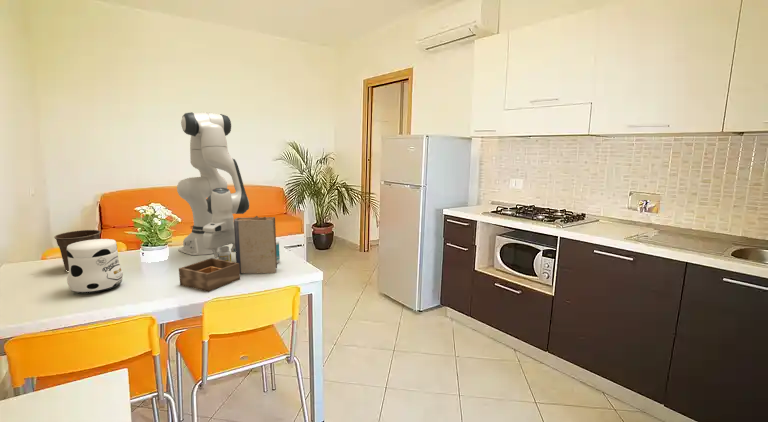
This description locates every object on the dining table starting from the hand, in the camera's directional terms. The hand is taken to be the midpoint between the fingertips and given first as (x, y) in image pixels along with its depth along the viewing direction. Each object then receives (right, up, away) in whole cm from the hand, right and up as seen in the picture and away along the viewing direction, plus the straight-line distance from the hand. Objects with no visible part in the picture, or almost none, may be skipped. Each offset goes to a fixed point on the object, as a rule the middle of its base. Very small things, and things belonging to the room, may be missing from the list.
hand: (225, 254), depth 179 cm
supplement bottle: (-1, -7, +1) cm, 7 cm away
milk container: (-40, -11, -25) cm, 48 cm away
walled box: (+1, -9, -17) cm, 19 cm away
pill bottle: (+18, -5, +10) cm, 21 cm away
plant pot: (-63, -6, -2) cm, 63 cm away
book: (+15, -7, -3) cm, 17 cm away
